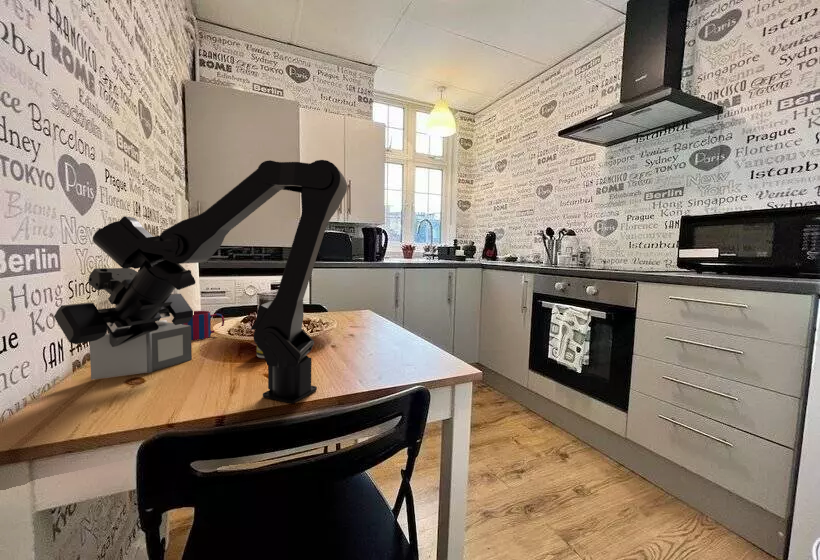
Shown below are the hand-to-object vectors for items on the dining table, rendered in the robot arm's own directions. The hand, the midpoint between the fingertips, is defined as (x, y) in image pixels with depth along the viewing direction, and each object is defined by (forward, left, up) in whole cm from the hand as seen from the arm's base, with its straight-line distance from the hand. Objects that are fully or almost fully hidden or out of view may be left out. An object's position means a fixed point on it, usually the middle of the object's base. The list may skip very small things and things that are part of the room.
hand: (113, 344), depth 62 cm
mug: (+13, -28, -7) cm, 32 cm away
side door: (0, -1, -6) cm, 6 cm away
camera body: (+2, -9, -6) cm, 11 cm away
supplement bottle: (-14, -23, -7) cm, 28 cm away
